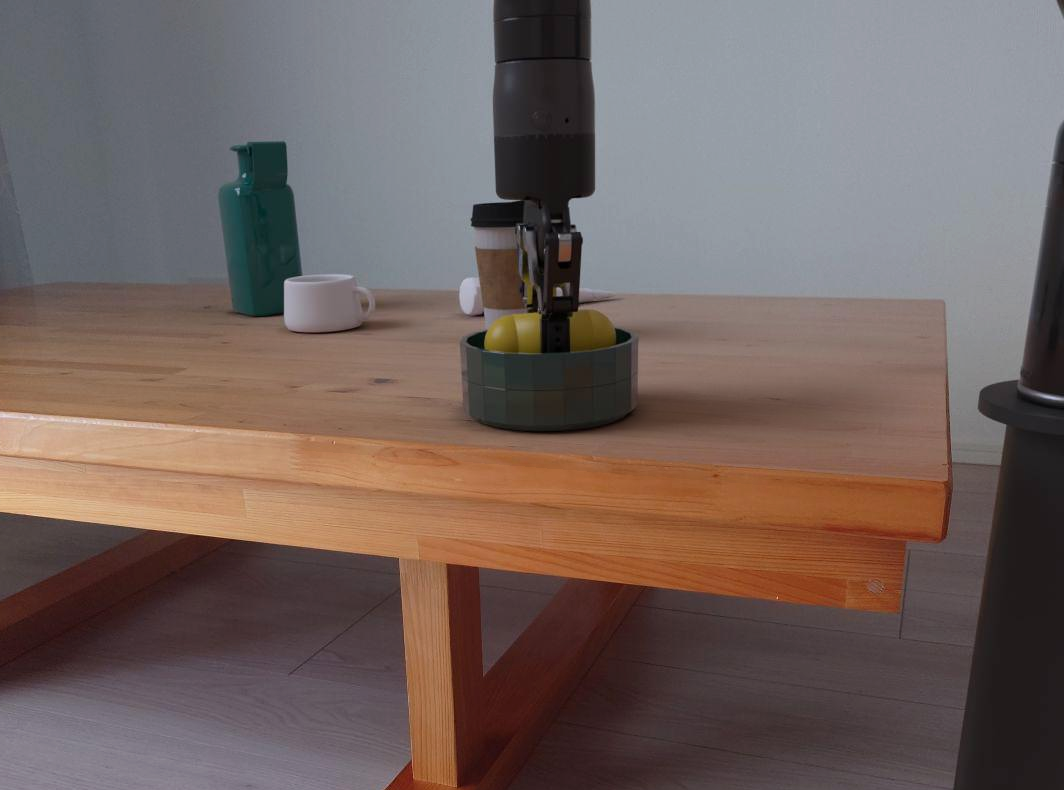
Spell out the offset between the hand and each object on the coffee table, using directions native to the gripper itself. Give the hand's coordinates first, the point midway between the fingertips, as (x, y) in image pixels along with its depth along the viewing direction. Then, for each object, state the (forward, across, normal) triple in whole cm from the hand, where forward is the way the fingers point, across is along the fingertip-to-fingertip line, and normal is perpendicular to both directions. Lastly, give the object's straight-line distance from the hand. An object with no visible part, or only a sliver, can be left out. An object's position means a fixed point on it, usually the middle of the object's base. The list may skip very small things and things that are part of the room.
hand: (548, 359), depth 81 cm
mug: (+5, +50, +17) cm, 53 cm away
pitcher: (+5, +68, +26) cm, 73 cm away
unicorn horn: (+4, +58, -10) cm, 59 cm away
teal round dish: (+4, 0, 0) cm, 4 cm away
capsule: (0, -2, 0) cm, 2 cm away
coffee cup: (+4, +35, -3) cm, 36 cm away
